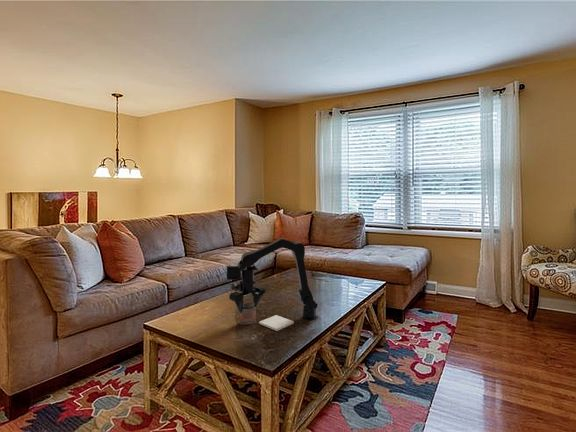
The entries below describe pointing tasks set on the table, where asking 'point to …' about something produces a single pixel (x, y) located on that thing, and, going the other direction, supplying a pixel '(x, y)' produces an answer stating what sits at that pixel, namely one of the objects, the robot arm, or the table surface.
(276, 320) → the coaster
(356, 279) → the table surface
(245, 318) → the lighter
